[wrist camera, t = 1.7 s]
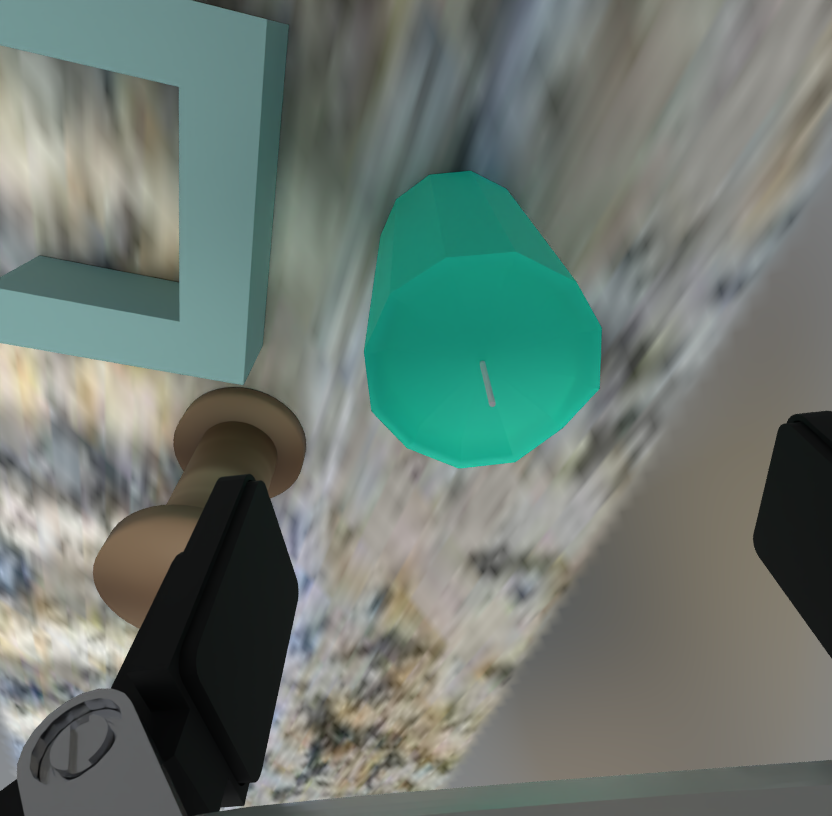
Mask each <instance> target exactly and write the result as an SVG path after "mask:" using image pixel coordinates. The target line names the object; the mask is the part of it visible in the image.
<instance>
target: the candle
mask: <svg viewBox="0 0 832 816" xmlns="http://www.w3.org/2000/svg"><path fill="white" fill-rule="evenodd" d="M601 336H602V327H601V326H600V324H599V322H598V320H597V318H596V316H595V315H594V313H593V311H592V309H591V307H590V306H589V304H588V302H587V300H586V298H585V297H584V295H583V293H582V291H581V289H580V288H579V286H578V284H577V282H576V281H575V279H574V278H573V277H572V275H571V274H570V273H569V271H568V270H567V269H566V267H565V266H564V265H563V263H562V262H561V261H560V259H559V258H558V257H557V255H556V254H555V253H554V251H553V250H552V249H551V247H550V246H549V245H548V243H547V242H546V241H545V239H544V238H543V237H542V235H541V234H540V233H539V231H538V230H537V229H536V227H535V226H534V225H533V223H532V222H531V221H530V219H529V218H528V217H527V215H526V214H525V213H524V211H523V210H522V209H521V207H520V206H519V205H518V203H517V202H516V201H515V199H514V198H513V197H512V195H511V194H510V193H509V191H508V190H507V189H506V188H504V187H502V186H500V185H498V184H496V183H494V182H492V181H490V180H488V179H486V178H484V177H482V176H480V175H478V174H476V173H474V172H472V171H462V172H451V173H441V174H430V175H428V176H427V177H426V178H424V179H423V180H422V181H420V182H419V183H417V184H416V185H415V186H413V187H412V188H411V189H409V190H408V191H407V192H405V193H404V194H403V195H401V196H400V197H399V198H397V199H396V201H395V203H394V205H393V208H392V210H391V212H390V215H389V217H388V219H387V222H386V224H385V226H384V229H383V231H382V233H381V236H380V242H379V249H378V256H377V263H376V270H375V277H374V284H373V291H372V298H371V305H370V312H369V319H368V326H367V333H366V341H365V348H364V356H365V364H366V372H367V380H368V388H369V396H370V403H371V411H372V412H373V413H374V414H375V416H376V417H377V418H378V419H379V420H380V421H381V422H382V423H383V424H384V425H385V426H386V427H387V428H388V429H389V430H390V431H391V432H392V433H393V434H394V435H395V436H396V437H397V438H398V439H399V440H400V441H401V442H402V443H403V444H404V445H405V447H406V448H408V449H411V450H413V451H416V452H418V453H421V454H423V455H426V456H428V457H431V458H433V459H436V460H438V461H441V462H444V463H446V464H449V465H451V466H454V467H456V468H468V467H477V466H486V465H495V464H504V463H513V462H516V461H518V460H519V459H520V458H522V457H523V456H525V455H526V454H527V453H529V452H530V451H532V450H533V449H534V448H536V447H537V446H538V445H540V444H541V443H543V442H544V441H545V440H547V439H548V438H550V437H551V436H552V435H554V434H555V433H557V432H558V431H559V430H561V429H562V428H563V427H564V426H565V425H566V424H567V423H568V422H569V421H570V420H571V419H572V418H573V417H574V416H575V414H576V413H577V412H578V411H579V410H580V409H581V408H582V407H583V406H584V405H585V404H586V403H587V402H588V401H589V399H590V398H591V397H592V396H593V395H594V394H595V393H596V392H597V391H598V390H599V389H600V364H601Z"/></svg>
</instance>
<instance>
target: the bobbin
mask: <svg viewBox="0 0 832 816" xmlns="http://www.w3.org/2000/svg"><path fill="white" fill-rule="evenodd" d="M174 451H175V455H176V458H177V460H178V462H179V464H180V466H181V468H182V469H183V471H184V472H183V474H182V476H181V478H180V480H179V482H178V484H177V486H176V487H175V489H174V491H173V493H172V495H171V497H170V499H169V501H168V502H167V504H166V505H159V506H153V507H149V508H145V509H142V510H139V511H137V512H135V513H132V514H131V515H129V516H127V517H126V518H124V519H123V520H122V521H121V522H119V523H118V524H117V525H116V527H115V528H114V529H113V530H112V532H111V533H110V535H109V537H108V538H107V540H106V542H105V543H104V545H103V546H102V548H101V550H100V551H99V553H98V555H97V557H96V559H95V563H94V567H93V577H94V582H95V585H96V588H97V591H98V592H99V594H100V596H101V598H102V599H103V600H104V602H105V603H106V604H107V605H108V606H109V607H110V609H111V610H112V611H114V612H115V613H116V614H117V615H118V616H119V617H121V618H122V619H124V620H125V621H127V622H128V623H130V624H132V625H133V626H135V627H137V628H139V629H140V627H141V625H142V623H143V621H144V619H145V617H146V615H147V613H148V611H149V609H150V607H151V605H152V603H153V600H154V598H155V596H156V594H157V592H158V590H159V588H160V586H161V584H162V582H163V580H164V578H165V576H166V574H167V572H168V569H169V567H170V565H171V563H172V562H173V560H174V558H175V557H176V555H178V554H179V553H181V552H184V549H185V547H186V545H187V543H188V541H189V539H190V537H191V535H192V532H193V530H194V528H195V526H196V524H197V522H198V520H199V518H200V515H201V513H202V511H203V509H204V507H205V505H206V503H207V501H208V498H209V496H210V494H211V492H212V490H213V488H214V486H215V484H216V482H217V480H218V479H219V478H220V477H224V476H233V475H243V474H251V475H253V477H254V478H255V480H256V481H259V480H262V481H263V482H264V483H265V485H266V488H267V491H268V494H269V497H270V498H272V497H275V496H277V495H279V494H281V493H283V492H284V491H285V490H287V489H288V488H289V487H290V486H291V485H292V484H293V483H294V482H295V481H296V479H297V478H298V476H299V474H300V472H301V468H302V465H303V461H304V457H305V452H306V439H305V434H304V431H303V428H302V426H301V424H300V422H299V421H298V419H297V418H296V416H295V415H294V414H293V413H292V412H291V411H290V410H289V409H288V408H287V407H286V406H285V405H284V404H283V403H281V402H280V401H278V400H277V399H275V398H273V397H271V396H269V395H267V394H265V393H262V392H259V391H256V390H252V389H247V388H236V387H232V388H222V389H217V390H214V391H211V392H208V393H206V394H204V395H202V396H201V397H199V398H198V399H196V400H195V401H194V402H193V403H192V404H191V405H190V406H189V408H188V409H187V410H186V412H185V414H184V415H183V417H182V418H181V420H180V422H179V424H178V425H177V427H176V430H175V433H174Z"/></svg>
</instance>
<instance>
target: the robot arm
mask: <svg viewBox="0 0 832 816" xmlns="http://www.w3.org/2000/svg"><path fill="white" fill-rule="evenodd" d="M753 542H754V547H755V550H756V553H757V554H758V556H759V558H760V559H761V560H762V562H763V563H764V565H765V566H766V567H767V569H768V570H769V572H770V573H771V574H772V576H773V577H774V579H775V580H776V581H777V583H778V584H779V586H780V587H781V588H782V590H783V591H784V592H785V594H786V595H787V597H788V598H789V600H790V601H791V602H792V604H793V605H794V607H795V608H796V609H797V611H798V612H799V614H800V615H801V616H802V618H803V619H804V620H805V622H806V623H807V625H808V626H809V627H810V629H811V630H812V632H813V633H814V634H815V636H816V637H817V639H818V640H819V641H820V643H821V644H822V646H823V647H824V648H825V650H826V651H827V653H828V654H829V655H830V657H831V658H832V411H821V412H811V413H802V414H795V415H793V416H791V417H790V418H789V419H788V421H787V423H786V424H782V425H781V426H780V427H779V429H778V433H777V437H776V441H775V445H774V449H773V454H772V458H771V462H770V466H769V471H768V475H767V479H766V484H765V488H764V492H763V496H762V501H761V505H760V509H759V513H758V518H757V522H756V526H755V530H754V535H753ZM297 602H298V582H297V578H296V575H295V572H294V569H293V566H292V563H291V560H290V557H289V554H288V551H287V548H286V545H285V542H284V539H283V536H282V533H281V530H280V527H279V524H278V521H277V518H276V515H275V512H274V509H273V506H272V503H271V500H270V497H269V494H268V491H267V488H266V485H265V483H264V482H263V481H262V480H259V481H256V480H255V478H254V477H253V475H251V474H243V475H233V476H224V477H220V478H219V479H218V480H217V482H216V484H215V486H214V488H213V490H212V492H211V494H210V496H209V498H208V501H207V503H206V505H205V507H204V509H203V511H202V513H201V515H200V518H199V520H198V522H197V524H196V526H195V528H194V530H193V532H192V535H191V537H190V539H189V541H188V543H187V545H186V547H185V549H184V552H181V553H179V554H178V555H176V557H175V558H174V560H173V562H172V563H171V565H170V567H169V569H168V572H167V574H166V576H165V578H164V580H163V582H162V584H161V586H160V588H159V590H158V592H157V594H156V596H155V598H154V600H153V603H152V605H151V607H150V609H149V611H148V613H147V615H146V617H145V619H144V621H143V623H142V625H141V627H140V629H139V631H138V633H137V636H136V638H135V640H134V642H133V644H132V646H131V648H130V650H129V652H128V654H127V656H126V658H125V660H124V662H123V664H122V667H121V669H120V671H119V673H118V675H117V677H116V679H115V681H114V683H113V685H112V687H111V689H96V690H92V691H89V692H85V693H82V694H80V695H78V696H76V697H74V698H72V699H71V700H69V701H67V702H65V703H64V704H62V705H61V706H60V707H58V708H57V709H56V710H54V711H53V712H52V713H50V714H49V715H48V716H47V717H46V718H45V719H44V720H43V721H42V723H41V724H40V725H39V726H38V727H37V728H36V729H35V730H34V731H33V733H32V735H31V736H30V738H29V739H28V741H27V742H26V744H25V745H24V747H23V750H22V752H21V755H20V758H19V761H18V763H17V779H16V780H15V781H13V782H12V783H11V784H9V785H8V786H7V787H5V788H4V789H3V790H1V791H0V816H832V760H826V761H812V762H798V763H783V764H768V765H755V766H754V765H753V766H741V767H740V766H739V767H726V768H713V769H699V770H685V771H672V772H658V773H645V774H632V775H619V776H606V777H592V778H580V779H566V780H553V781H540V782H526V783H515V784H501V785H490V786H477V787H465V788H452V789H440V790H427V791H415V792H402V793H390V794H378V795H365V796H354V797H343V798H333V799H323V800H313V801H303V802H293V803H283V804H273V805H263V806H253V807H246V808H239V809H233V810H226V811H220V812H219V810H220V807H233V806H244V805H245V800H246V796H247V791H248V787H249V783H252V782H257V781H258V779H259V777H260V775H261V771H262V767H263V762H264V757H265V753H266V748H267V743H268V739H269V734H270V729H271V724H272V720H273V715H274V710H275V706H276V701H277V696H278V691H279V687H280V682H281V677H282V673H283V668H284V663H285V658H286V654H287V649H288V644H289V640H290V635H291V630H292V625H293V621H294V616H295V611H296V607H297Z"/></svg>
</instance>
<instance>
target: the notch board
mask: <svg viewBox="0 0 832 816" xmlns="http://www.w3.org/2000/svg"><path fill="white" fill-rule="evenodd" d="M288 30H289V25H288V24H284V23H280V22H276V21H272V20H268V19H264V18H260V17H256V16H252V15H248V14H244V13H240V12H236V11H232V10H228V9H224V8H220V7H216V6H212V5H208V4H205V3H201V2H197V1H193V0H0V45H2V46H6V47H10V48H15V49H19V50H23V51H28V52H32V53H36V54H40V55H45V56H49V57H53V58H57V59H62V60H66V61H70V62H75V63H79V64H83V65H87V66H92V67H96V68H100V69H104V70H109V71H113V72H117V73H121V74H126V75H130V76H134V77H139V78H143V79H147V80H151V81H156V82H160V83H164V84H168V85H173V86H177V87H179V282H174V281H169V280H164V279H158V278H153V277H148V276H143V275H138V274H133V273H127V272H122V271H117V270H112V269H107V268H101V267H96V266H91V265H86V264H81V263H76V262H70V261H65V260H60V259H55V258H50V257H44V256H38V257H36V258H34V259H33V260H31V261H29V262H27V263H25V264H23V265H22V266H20V267H18V268H16V269H14V270H13V271H11V272H9V273H7V274H5V275H3V276H2V277H0V343H4V344H10V345H15V346H21V347H27V348H33V349H38V350H44V351H50V352H56V353H61V354H67V355H73V356H79V357H84V358H90V359H96V360H102V361H107V362H113V363H119V364H125V365H130V366H136V367H142V368H148V369H153V370H159V371H165V372H171V373H176V374H182V375H188V376H194V377H199V378H205V379H211V380H217V381H222V382H228V383H234V384H240V385H244V383H245V381H246V379H247V377H248V375H249V373H250V371H251V369H252V367H253V364H254V362H255V360H256V358H257V356H258V354H259V352H260V350H261V348H262V346H263V336H264V323H265V311H266V299H267V287H268V274H269V262H270V250H271V238H272V225H273V213H274V201H275V189H276V176H277V164H278V152H279V140H280V128H281V115H282V103H283V91H284V79H285V66H286V54H287V42H288Z"/></svg>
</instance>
